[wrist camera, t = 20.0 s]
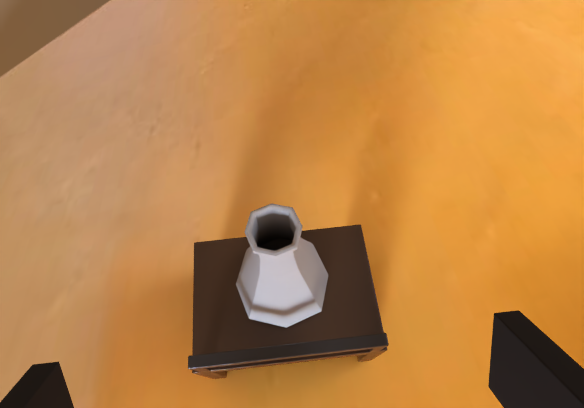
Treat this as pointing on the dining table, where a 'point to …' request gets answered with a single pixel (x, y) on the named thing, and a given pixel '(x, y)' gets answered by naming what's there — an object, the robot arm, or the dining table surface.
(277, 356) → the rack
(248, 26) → the dining table surface
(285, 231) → the flask
